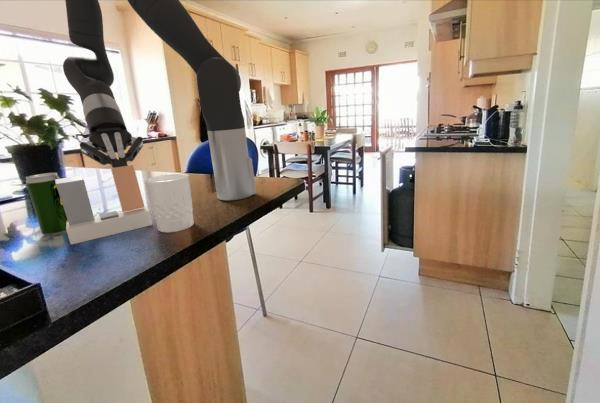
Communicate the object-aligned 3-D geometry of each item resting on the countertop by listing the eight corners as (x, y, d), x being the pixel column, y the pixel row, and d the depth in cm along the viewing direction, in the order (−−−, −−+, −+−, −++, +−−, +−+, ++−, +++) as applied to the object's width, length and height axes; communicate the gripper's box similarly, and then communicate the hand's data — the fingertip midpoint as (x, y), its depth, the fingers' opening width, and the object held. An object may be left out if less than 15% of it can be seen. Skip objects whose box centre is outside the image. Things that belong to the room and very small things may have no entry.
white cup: (145, 232, 60) (134, 182, 58) (174, 219, 68) (165, 173, 65) (178, 235, 58) (168, 182, 55) (205, 220, 65) (197, 173, 62)
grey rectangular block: (93, 215, 61) (82, 175, 56) (94, 219, 60) (83, 179, 55) (68, 220, 59) (55, 179, 54) (69, 225, 58) (55, 183, 53)
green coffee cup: (41, 239, 61) (21, 179, 58) (44, 232, 66) (26, 175, 62) (74, 232, 64) (57, 174, 61) (75, 225, 68) (59, 171, 65)
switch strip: (147, 218, 69) (144, 203, 68) (152, 224, 65) (149, 209, 64) (70, 236, 62) (66, 220, 61) (70, 244, 57) (65, 227, 56)
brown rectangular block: (143, 207, 66) (132, 167, 67) (144, 206, 65) (133, 164, 66) (122, 212, 64) (111, 170, 65) (122, 210, 63) (111, 168, 63)
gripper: (66, 107, 68) (83, 169, 61) (134, 104, 75) (155, 159, 68) (73, 132, 73) (89, 191, 67) (135, 127, 80) (155, 180, 74)
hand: (123, 175), depth 68 cm, fingers closed
